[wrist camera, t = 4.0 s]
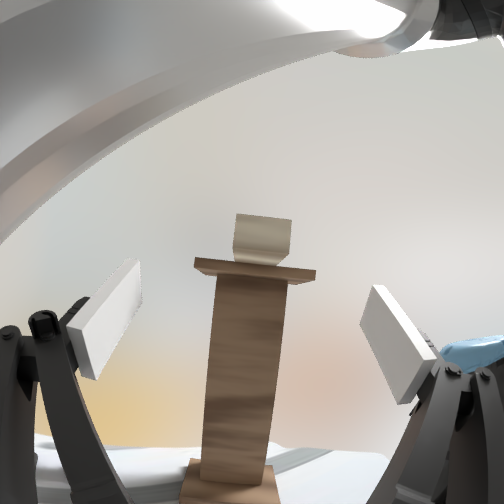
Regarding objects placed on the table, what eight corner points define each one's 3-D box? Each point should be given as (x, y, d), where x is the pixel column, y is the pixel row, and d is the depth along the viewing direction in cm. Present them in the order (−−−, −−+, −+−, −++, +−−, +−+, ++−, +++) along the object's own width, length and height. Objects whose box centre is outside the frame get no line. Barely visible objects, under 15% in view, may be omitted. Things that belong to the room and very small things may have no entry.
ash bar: (288, 253, 21) (291, 219, 21) (232, 247, 21) (236, 213, 21) (265, 275, 40) (267, 257, 41) (236, 272, 40) (238, 254, 41)
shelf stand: (278, 511, 24) (315, 270, 29) (179, 503, 24) (195, 257, 28) (270, 472, 34) (296, 277, 39) (190, 465, 34) (206, 267, 38)
